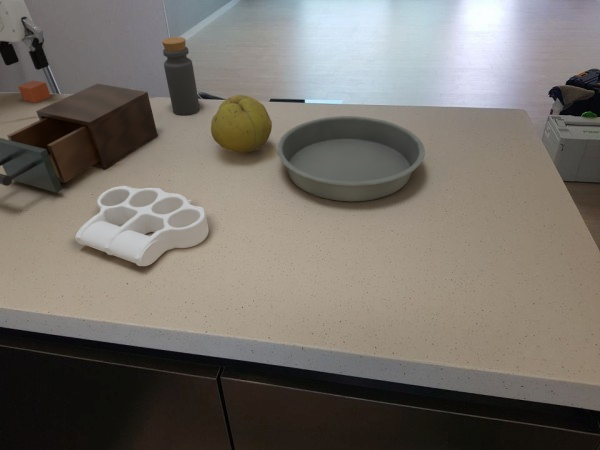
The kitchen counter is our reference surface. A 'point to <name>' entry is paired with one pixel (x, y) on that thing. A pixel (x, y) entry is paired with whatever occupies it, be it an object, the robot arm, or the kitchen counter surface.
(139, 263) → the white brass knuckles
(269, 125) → the fruit
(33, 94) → the block
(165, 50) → the bottle
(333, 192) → the cake pan
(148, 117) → the cabinet
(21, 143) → the drawer
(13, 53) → the robot arm
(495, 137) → the kitchen counter surface
